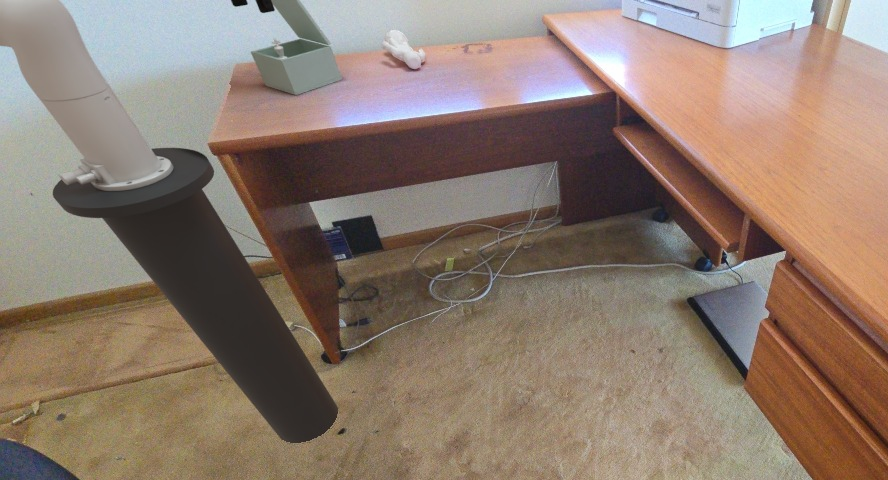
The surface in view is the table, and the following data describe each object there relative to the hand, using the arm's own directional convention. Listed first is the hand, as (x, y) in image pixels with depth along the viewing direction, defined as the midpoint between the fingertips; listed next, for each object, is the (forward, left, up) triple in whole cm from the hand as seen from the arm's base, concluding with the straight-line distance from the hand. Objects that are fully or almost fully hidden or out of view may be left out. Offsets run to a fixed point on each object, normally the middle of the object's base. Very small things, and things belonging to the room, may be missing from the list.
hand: (254, 8), depth 118 cm
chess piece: (+1, -1, -16) cm, 16 cm away
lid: (+8, -1, -2) cm, 8 cm away
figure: (+31, -9, -17) cm, 37 cm away
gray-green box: (+4, -1, -17) cm, 18 cm away
